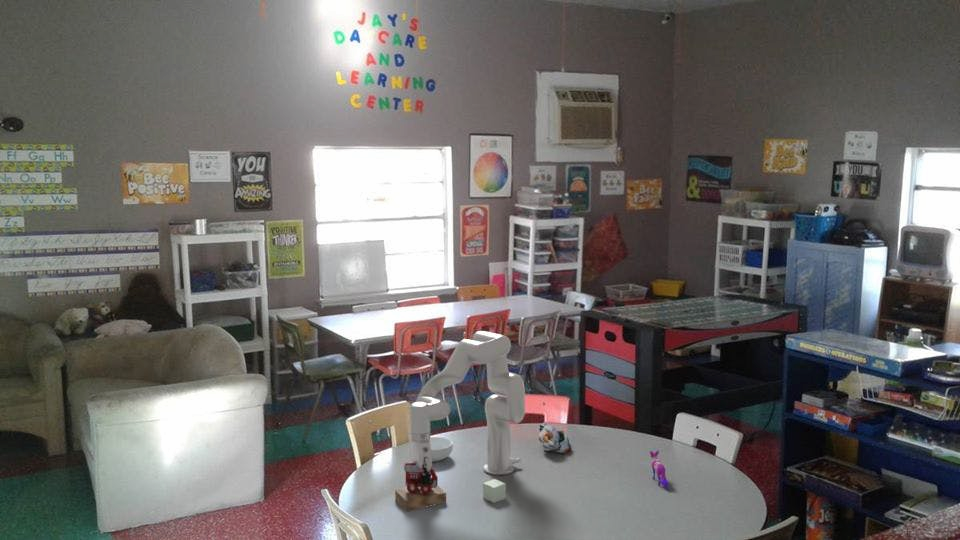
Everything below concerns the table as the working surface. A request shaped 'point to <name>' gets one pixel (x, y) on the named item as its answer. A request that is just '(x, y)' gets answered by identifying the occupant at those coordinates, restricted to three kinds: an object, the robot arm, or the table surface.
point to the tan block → (419, 498)
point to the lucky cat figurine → (554, 439)
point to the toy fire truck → (418, 479)
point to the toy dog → (658, 468)
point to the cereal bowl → (440, 448)
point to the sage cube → (494, 490)
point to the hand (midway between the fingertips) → (420, 479)
